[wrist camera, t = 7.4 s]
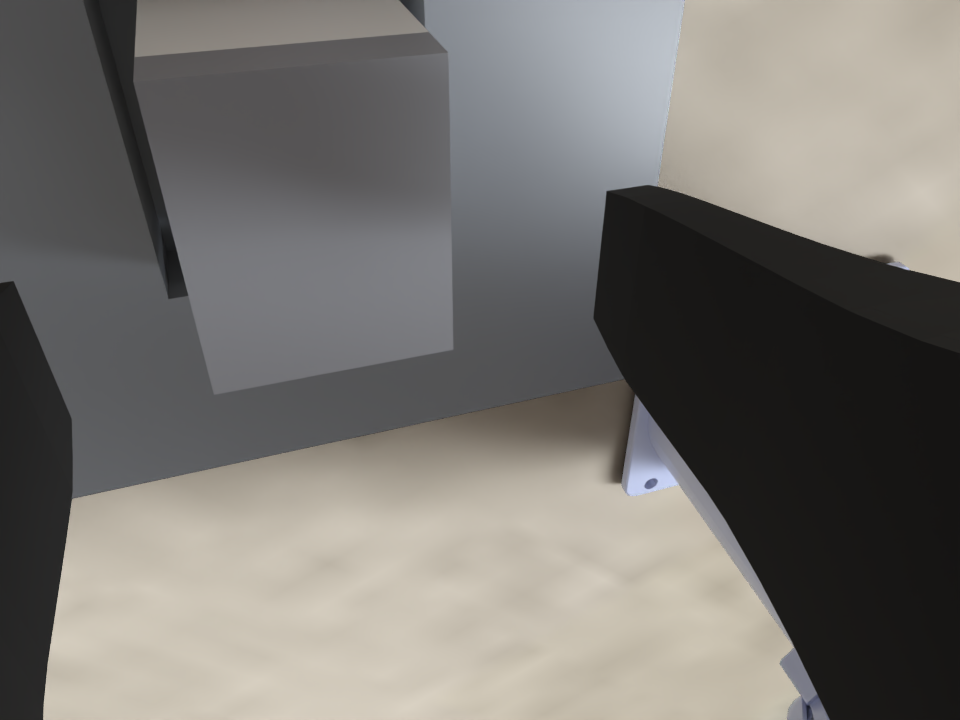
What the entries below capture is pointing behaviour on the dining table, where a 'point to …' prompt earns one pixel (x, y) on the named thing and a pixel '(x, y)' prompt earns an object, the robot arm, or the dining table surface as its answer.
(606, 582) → the dining table surface
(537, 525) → the dining table surface
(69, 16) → the socket plate
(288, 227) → the grey rectangular block
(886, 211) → the dining table surface
